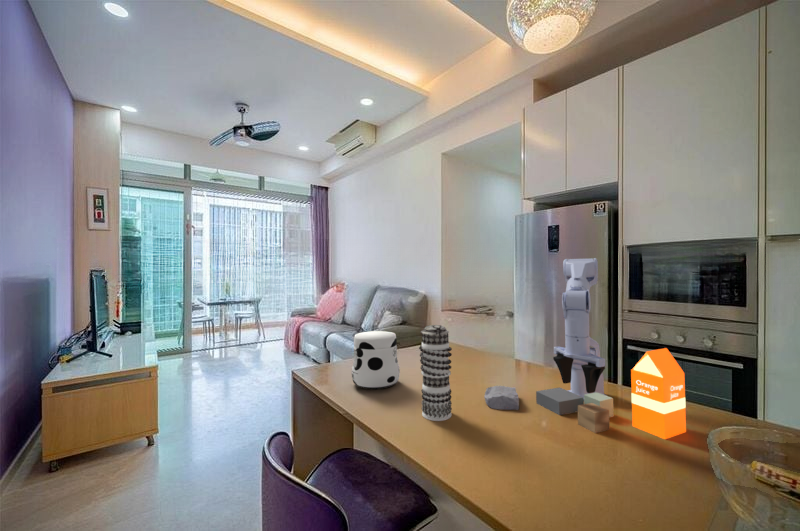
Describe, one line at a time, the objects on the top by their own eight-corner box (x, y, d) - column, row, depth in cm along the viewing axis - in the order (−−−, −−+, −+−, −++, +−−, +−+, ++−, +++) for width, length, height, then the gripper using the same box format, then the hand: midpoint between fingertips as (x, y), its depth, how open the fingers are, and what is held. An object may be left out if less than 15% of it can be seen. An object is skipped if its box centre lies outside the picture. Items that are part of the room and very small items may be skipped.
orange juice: (631, 426, 87) (629, 348, 87) (652, 419, 90) (651, 344, 91) (665, 439, 80) (663, 355, 80) (687, 432, 83) (685, 351, 83)
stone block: (487, 415, 99) (522, 410, 97) (484, 398, 99) (518, 394, 97) (486, 401, 111) (517, 397, 109) (482, 386, 111) (513, 382, 109)
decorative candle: (440, 425, 89) (438, 330, 89) (413, 415, 95) (412, 326, 96) (459, 413, 96) (457, 325, 96) (433, 405, 102) (431, 322, 102)
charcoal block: (559, 400, 105) (559, 387, 105) (584, 411, 97) (583, 397, 97) (536, 404, 102) (536, 391, 102) (559, 416, 94) (558, 401, 94)
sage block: (597, 409, 97) (596, 392, 97) (613, 416, 93) (613, 398, 93) (584, 412, 96) (584, 394, 96) (600, 419, 91) (599, 401, 91)
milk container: (408, 381, 124) (407, 332, 124) (381, 397, 110) (380, 341, 110) (371, 374, 133) (370, 329, 134) (341, 387, 119) (340, 336, 119)
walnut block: (592, 421, 90) (591, 402, 90) (609, 429, 85) (609, 409, 85) (578, 424, 88) (577, 405, 88) (595, 433, 83) (594, 413, 84)
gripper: (544, 332, 94) (545, 380, 94) (589, 342, 81) (590, 399, 80) (564, 330, 97) (565, 377, 97) (610, 339, 83) (612, 395, 83)
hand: (578, 387), depth 89 cm, fingers open, 7 cm apart
